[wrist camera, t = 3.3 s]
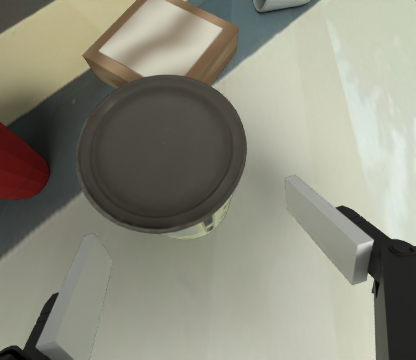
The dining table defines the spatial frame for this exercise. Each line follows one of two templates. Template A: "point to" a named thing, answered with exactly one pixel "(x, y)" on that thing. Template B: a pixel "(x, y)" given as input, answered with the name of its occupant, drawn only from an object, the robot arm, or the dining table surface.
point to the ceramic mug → (276, 4)
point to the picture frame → (163, 44)
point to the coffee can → (162, 156)
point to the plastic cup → (19, 167)
